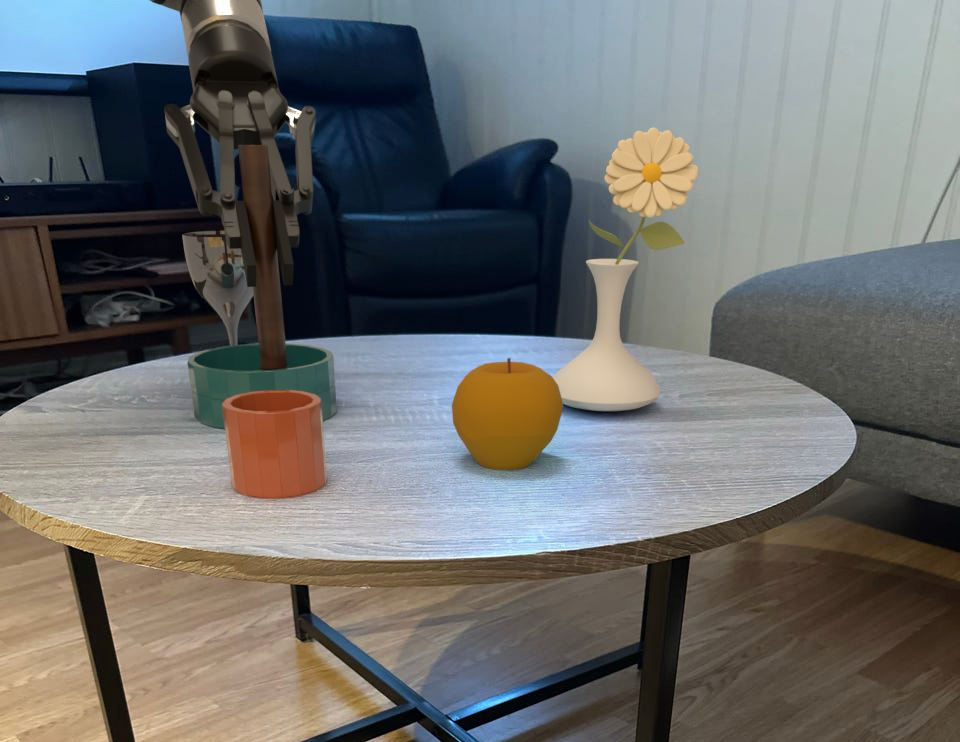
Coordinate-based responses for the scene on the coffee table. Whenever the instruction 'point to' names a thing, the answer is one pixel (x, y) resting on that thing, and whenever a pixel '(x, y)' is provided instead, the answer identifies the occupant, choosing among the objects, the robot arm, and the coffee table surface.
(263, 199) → the stick
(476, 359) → the coffee table surface
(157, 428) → the coffee table surface
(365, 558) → the coffee table surface
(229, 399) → the crock
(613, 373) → the flower in vase
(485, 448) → the apple
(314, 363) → the bowl
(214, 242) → the wine glass
